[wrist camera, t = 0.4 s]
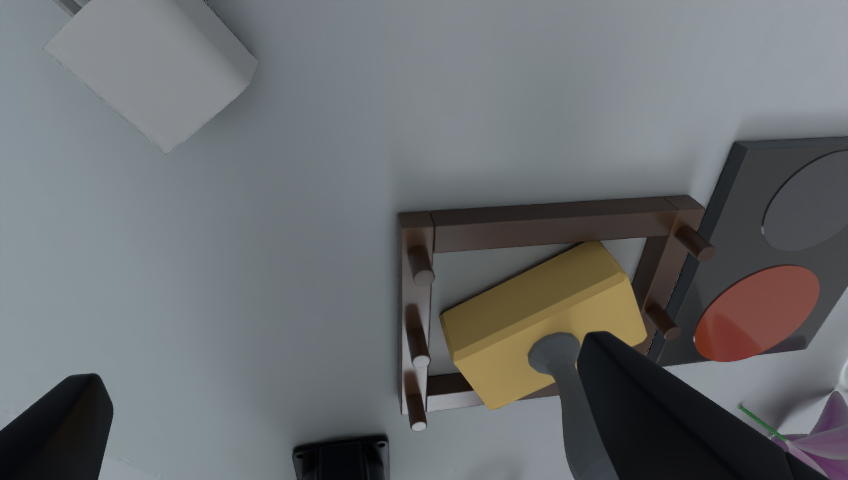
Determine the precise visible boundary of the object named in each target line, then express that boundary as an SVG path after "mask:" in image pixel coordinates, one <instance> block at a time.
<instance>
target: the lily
mask: <svg viewBox="0 0 848 480" xmlns="http://www.w3.org/2000/svg"><path fill="white" fill-rule="evenodd" d="M739 409H741V410H742V411H743V412H745V413H746V414H747V415H749V416H750V417H751V418H753V419H754V420H755V421H757V422H758V423H759V424H761V425H762V426H763V427H765V428H766V429H768V430H769V431H770V432H772V433H773V434H774V435H776V436H773V437H771V441H773V442H774V443H776V444H777V445H779V446H780V447H782V448H783V449H784V452H785V451H787V452H790V453H791V454H793V455H794V456H796V457H797V458H799V459H800V460H802V461H803V462H805V463H806V464H808V465H809V466H811V467H812V468H814V469H815V470H817V471H818V472H820V473H821V474H823V475H824V476H826V477H827V478H829V479H831V480H848V407H847V404H846V402H845V401H844V399H843V397H842V396H841V394H840V393H839V392H838V391H834V392H833V393H832V394H831V395H830V397H829V399H828V401H827V403H826V405H825V407H824V409H823V412H822V414H821V416H820V418H819V420H818V422H817V423H816V425H815V426H814V428H813V430H812V431H811V432H810V433H809V434H787V435H781V434H779V433H778V432H776V431H775V430H774V429H772V428H771V427H770V426H768V425H767V424H765V423H764V422H763V421H761V420H760V419H759V418H757V417H756V416H755V415H753V414H752V413H751V412H749V411H748V410H746V409H745V408H744V407H742V406H740V407H739ZM807 435H808V436H807ZM806 436H807V437H806Z"/></svg>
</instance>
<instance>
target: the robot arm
mask: <svg viewBox="0 0 848 480" xmlns="http://www.w3.org/2000/svg"><path fill="white" fill-rule="evenodd" d="M577 371H578V374H579V377H580V380H581V383H582V386H583V389H584V392H585V395H586V398H587V401H588V404H589V407H590V410H591V412H592V415H593V418H594V421H595V424H596V427H597V430H598V433H599V435H600V438H601V441H602V443H603V445H604V448H605V450H606V452H607V454H608V457H609V459H610V461H611V463H612V465H613V467H614V470H615V472H616V474H617V476H618V478H619V480H831V479H829V478H827V477H826V476H824V475H823V474H821V473H820V472H818V471H817V470H815V469H814V468H812V467H811V466H809V465H808V464H806V463H805V462H803V461H802V460H800V459H799V458H797V457H796V456H794V455H793V454H791V453H790V452H787V451H785V452H784V449H783V448H782V447H780V446H779V445H777V444H776V443H774V442H773V441H771V440H770V439H768V438H767V437H765V436H764V435H762V434H761V433H759V432H758V431H756V430H755V429H753V428H752V427H750V426H749V425H748V424H746V423H745V422H743V421H742V420H740V419H739V418H737V417H736V416H734V415H733V414H731V413H730V412H728V411H727V410H725V409H724V408H722V407H721V406H719V405H718V404H716V403H715V402H713V401H712V400H710V399H709V398H707V397H706V396H704V395H703V394H701V393H700V392H698V391H697V390H695V389H694V388H692V387H691V386H689V385H688V384H686V383H685V382H683V381H682V380H680V379H679V378H677V377H676V376H674V375H673V374H671V373H670V372H668V371H667V370H665V369H664V368H662V367H661V366H659V365H658V364H656V363H655V362H653V361H652V360H650V359H649V358H647V357H646V356H644V355H643V354H641V353H640V352H638V351H637V350H635V349H634V348H632V347H631V346H629V345H628V344H626V343H625V342H623V341H622V340H620V339H619V338H617V337H616V336H614V335H613V334H612V333H610V332H608V331H593V332H588V333H587V334H586V335H585V336H584V339H583V342H582V345H581V348H580V352H579V355H578V358H577ZM112 419H113V404H112V401H111V399H110V397H109V395H108V392H107V390H106V388H105V386H104V383H103V381H102V379H101V377H100V376H99V375H97V374H94V373H90V374H78V375H71V376H69V377H67V378H65V379H64V380H63V381H61V382H60V383H59V384H58V385H56V386H55V387H54V388H53V389H52V390H50V391H49V392H48V393H47V394H45V395H44V396H43V397H42V398H40V399H39V400H38V401H37V402H35V403H34V404H33V405H32V406H30V407H29V408H28V409H27V410H25V411H24V412H23V413H22V414H21V415H19V416H18V417H17V418H16V419H14V420H13V421H12V422H11V423H9V424H8V425H7V426H6V427H4V428H3V429H2V430H1V431H0V480H98V476H99V473H100V469H101V464H102V460H103V456H104V452H105V448H106V444H107V440H108V436H109V431H110V427H111V423H112ZM292 458H293V462H294V467H295V472H296V476H297V480H390V478H389V443H388V438H387V437H386V436H377V437H369V438H361V439H354V440H346V441H339V442H331V443H324V444H316V445H309V446H301V447H296V448H295V449H294V450H293V456H292Z"/></svg>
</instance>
